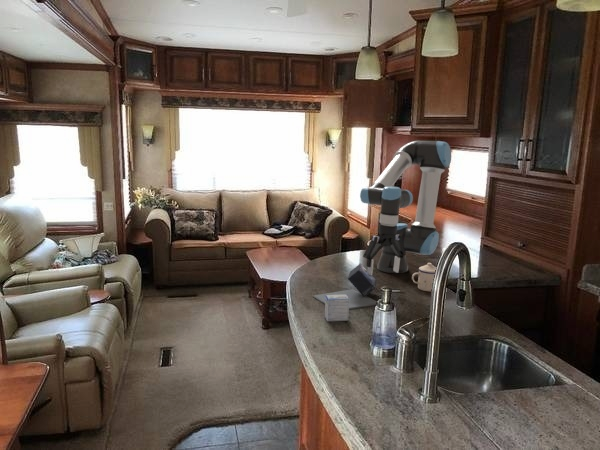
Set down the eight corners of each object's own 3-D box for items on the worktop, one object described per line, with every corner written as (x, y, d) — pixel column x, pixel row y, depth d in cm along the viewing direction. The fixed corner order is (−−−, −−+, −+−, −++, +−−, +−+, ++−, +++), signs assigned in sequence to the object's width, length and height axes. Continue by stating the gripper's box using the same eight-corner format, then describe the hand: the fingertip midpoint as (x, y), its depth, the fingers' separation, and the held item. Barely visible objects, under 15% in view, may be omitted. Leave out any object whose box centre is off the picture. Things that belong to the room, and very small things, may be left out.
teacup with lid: (434, 285, 215) (436, 260, 213) (441, 292, 206) (443, 266, 204) (408, 285, 214) (410, 260, 212) (414, 292, 205) (416, 266, 203)
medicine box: (345, 316, 176) (346, 294, 174) (348, 321, 172) (349, 298, 170) (324, 317, 175) (325, 294, 173) (327, 322, 170) (328, 299, 169)
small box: (376, 288, 193) (358, 269, 192) (364, 298, 194) (346, 279, 194) (377, 280, 203) (360, 262, 203) (366, 289, 205) (349, 271, 204)
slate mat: (353, 290, 205) (353, 289, 205) (378, 304, 190) (379, 302, 189) (313, 296, 196) (313, 295, 196) (336, 311, 180) (336, 310, 180)
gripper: (406, 221, 206) (400, 268, 210) (358, 223, 194) (353, 272, 198) (417, 225, 199) (411, 273, 204) (368, 227, 188) (363, 278, 192)
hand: (382, 273), depth 201 cm, fingers open, 13 cm apart
